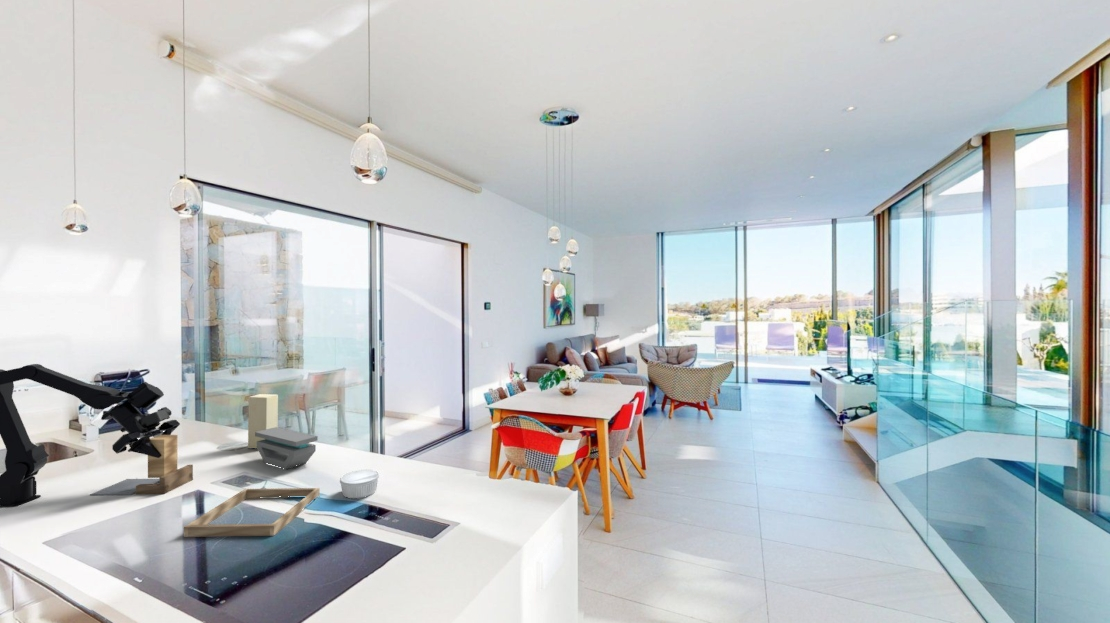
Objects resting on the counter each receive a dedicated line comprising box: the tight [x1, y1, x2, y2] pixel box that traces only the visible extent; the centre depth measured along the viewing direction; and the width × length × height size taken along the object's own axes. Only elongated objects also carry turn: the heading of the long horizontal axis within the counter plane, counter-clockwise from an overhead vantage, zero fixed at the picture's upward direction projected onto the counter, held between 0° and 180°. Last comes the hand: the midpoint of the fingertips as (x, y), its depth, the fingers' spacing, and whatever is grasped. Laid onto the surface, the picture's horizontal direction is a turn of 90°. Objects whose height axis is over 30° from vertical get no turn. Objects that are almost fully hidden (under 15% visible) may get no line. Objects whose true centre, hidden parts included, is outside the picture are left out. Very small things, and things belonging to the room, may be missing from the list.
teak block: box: [147, 434, 178, 479], centre depth 140 cm, size 5×5×12 cm
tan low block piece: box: [135, 464, 194, 495], centre depth 140 cm, size 11×8×5 cm
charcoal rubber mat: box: [89, 478, 160, 496], centre depth 140 cm, size 12×12×1 cm
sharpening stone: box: [255, 426, 319, 470], centre depth 161 cm, size 25×8×11 cm, turn 62°
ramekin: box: [339, 469, 380, 499], centre depth 137 cm, size 11×11×5 cm
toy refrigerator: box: [247, 393, 279, 448], centre depth 181 cm, size 8×7×21 cm
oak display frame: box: [183, 487, 321, 538], centre depth 122 cm, size 23×22×2 cm
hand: (167, 454), depth 140 cm, fingers closed on teak block, 5 cm apart
